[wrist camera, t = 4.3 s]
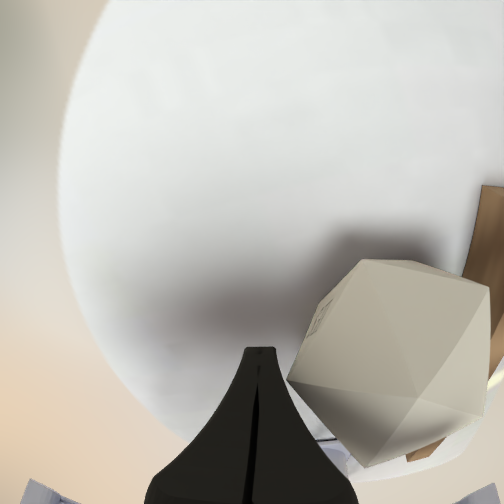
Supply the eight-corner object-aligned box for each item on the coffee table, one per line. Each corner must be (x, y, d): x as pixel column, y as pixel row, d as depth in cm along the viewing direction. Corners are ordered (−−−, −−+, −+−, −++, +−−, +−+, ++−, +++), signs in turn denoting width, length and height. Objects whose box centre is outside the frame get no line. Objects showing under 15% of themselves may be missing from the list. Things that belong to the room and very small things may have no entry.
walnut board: (417, 419, 20) (428, 456, 17) (397, 423, 20) (407, 462, 17) (507, 188, 11) (558, 219, 7) (482, 185, 11) (535, 217, 8)
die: (304, 204, 13) (218, 434, 9) (507, 201, 8) (488, 497, 4) (348, 293, 18) (302, 443, 14) (481, 301, 13) (451, 472, 9)
